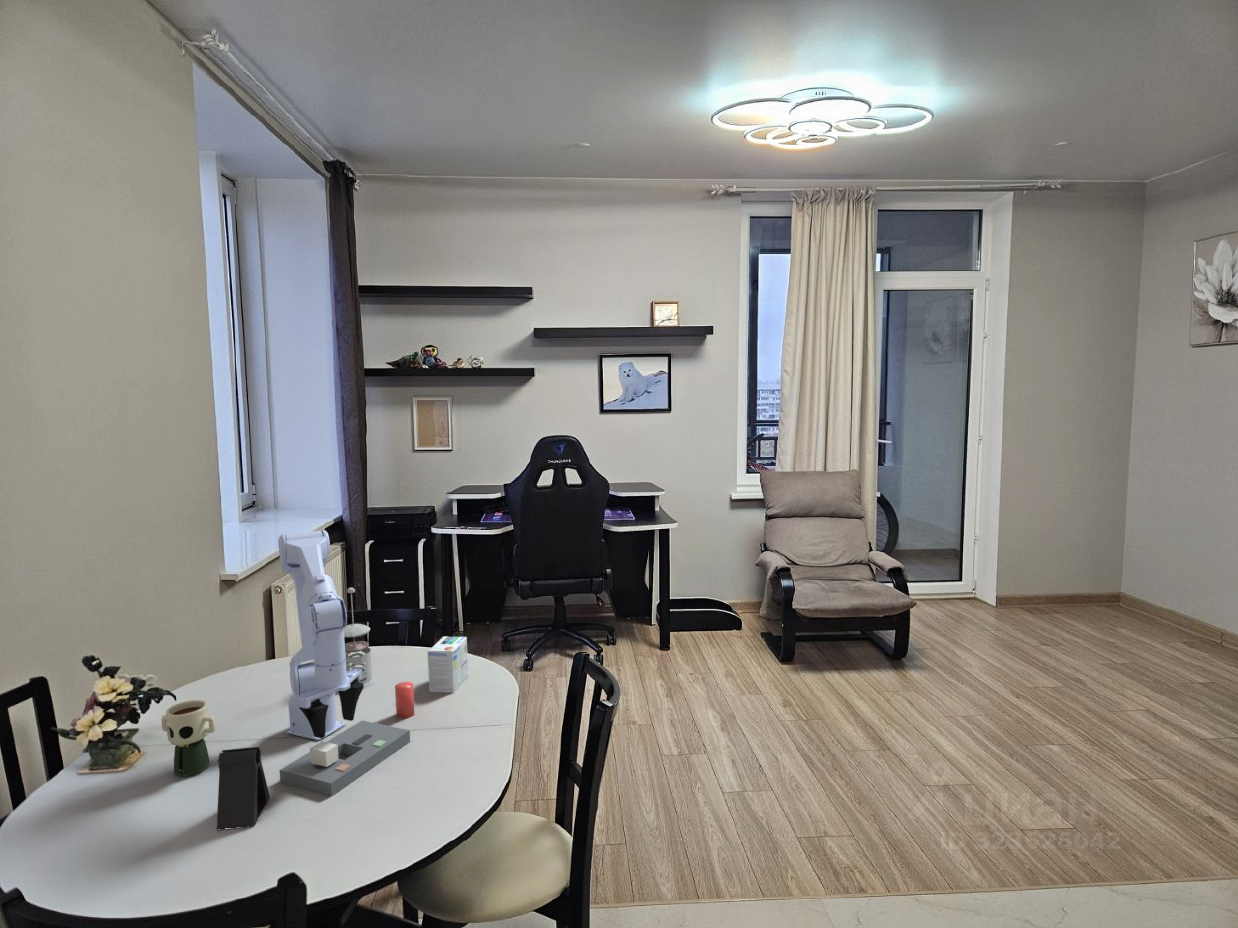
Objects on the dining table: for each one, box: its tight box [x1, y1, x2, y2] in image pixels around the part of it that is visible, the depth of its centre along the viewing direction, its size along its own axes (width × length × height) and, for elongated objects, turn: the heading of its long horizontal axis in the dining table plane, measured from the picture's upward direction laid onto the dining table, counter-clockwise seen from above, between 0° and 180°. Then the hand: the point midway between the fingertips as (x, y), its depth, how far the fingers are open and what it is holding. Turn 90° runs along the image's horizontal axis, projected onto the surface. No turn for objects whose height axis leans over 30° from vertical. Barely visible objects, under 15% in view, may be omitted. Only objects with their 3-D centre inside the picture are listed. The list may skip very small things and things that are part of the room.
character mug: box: [161, 699, 216, 776], centre depth 142 cm, size 11×7×13 cm, turn 85°
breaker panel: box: [279, 720, 411, 797], centre depth 145 cm, size 13×22×3 cm, turn 157°
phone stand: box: [216, 746, 271, 830], centre depth 127 cm, size 9×6×12 cm, turn 10°
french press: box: [342, 587, 378, 689], centre depth 183 cm, size 10×12×25 cm
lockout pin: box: [394, 681, 416, 720], centre depth 165 cm, size 4×4×7 cm
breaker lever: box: [309, 740, 338, 767], centre depth 139 cm, size 4×3×3 cm
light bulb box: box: [427, 636, 469, 694], centre depth 182 cm, size 11×7×11 cm, turn 172°
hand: (334, 727), depth 141 cm, fingers open, 7 cm apart
